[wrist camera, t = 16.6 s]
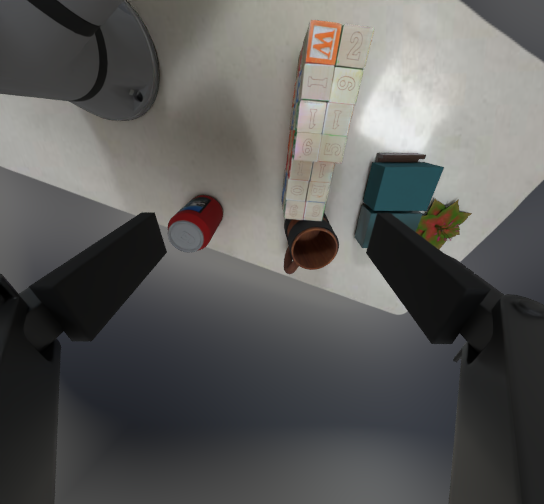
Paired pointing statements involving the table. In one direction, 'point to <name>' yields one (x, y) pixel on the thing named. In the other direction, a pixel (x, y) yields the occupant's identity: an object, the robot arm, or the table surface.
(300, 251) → the mug
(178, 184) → the table surface
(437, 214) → the lily flower
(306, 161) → the stack of blocks
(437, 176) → the block
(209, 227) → the beverage can
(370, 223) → the teal lidded box
